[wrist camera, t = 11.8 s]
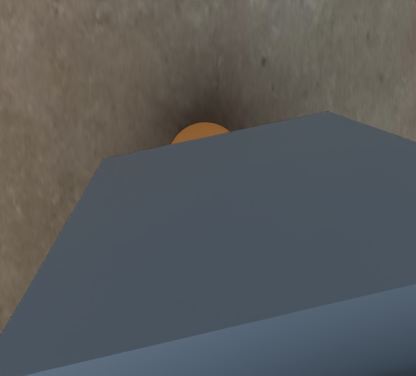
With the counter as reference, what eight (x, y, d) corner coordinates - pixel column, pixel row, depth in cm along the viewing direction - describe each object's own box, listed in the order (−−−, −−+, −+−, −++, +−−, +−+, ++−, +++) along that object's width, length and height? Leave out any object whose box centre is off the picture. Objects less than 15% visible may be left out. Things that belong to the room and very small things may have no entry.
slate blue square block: (339, 294, 15) (549, 582, 7) (158, 336, 15) (150, 691, 7) (327, 111, 12) (658, 227, 4) (103, 158, 12) (-30, 388, 4)
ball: (217, 97, 22) (213, 118, 27) (148, 142, 22) (157, 155, 27) (263, 165, 22) (251, 174, 27) (194, 211, 21) (195, 211, 26)
